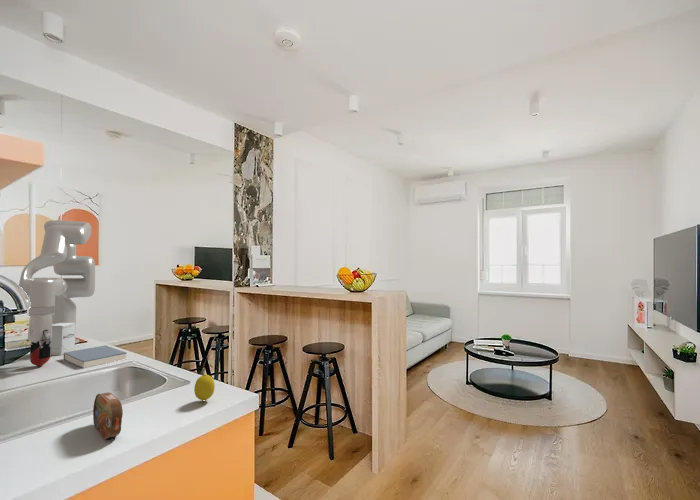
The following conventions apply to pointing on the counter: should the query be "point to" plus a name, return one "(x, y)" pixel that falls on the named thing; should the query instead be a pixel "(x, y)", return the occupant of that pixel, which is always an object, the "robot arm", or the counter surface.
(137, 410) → the counter surface
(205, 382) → the lemon
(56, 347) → the supplement box
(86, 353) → the book
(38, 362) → the onion
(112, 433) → the tin
